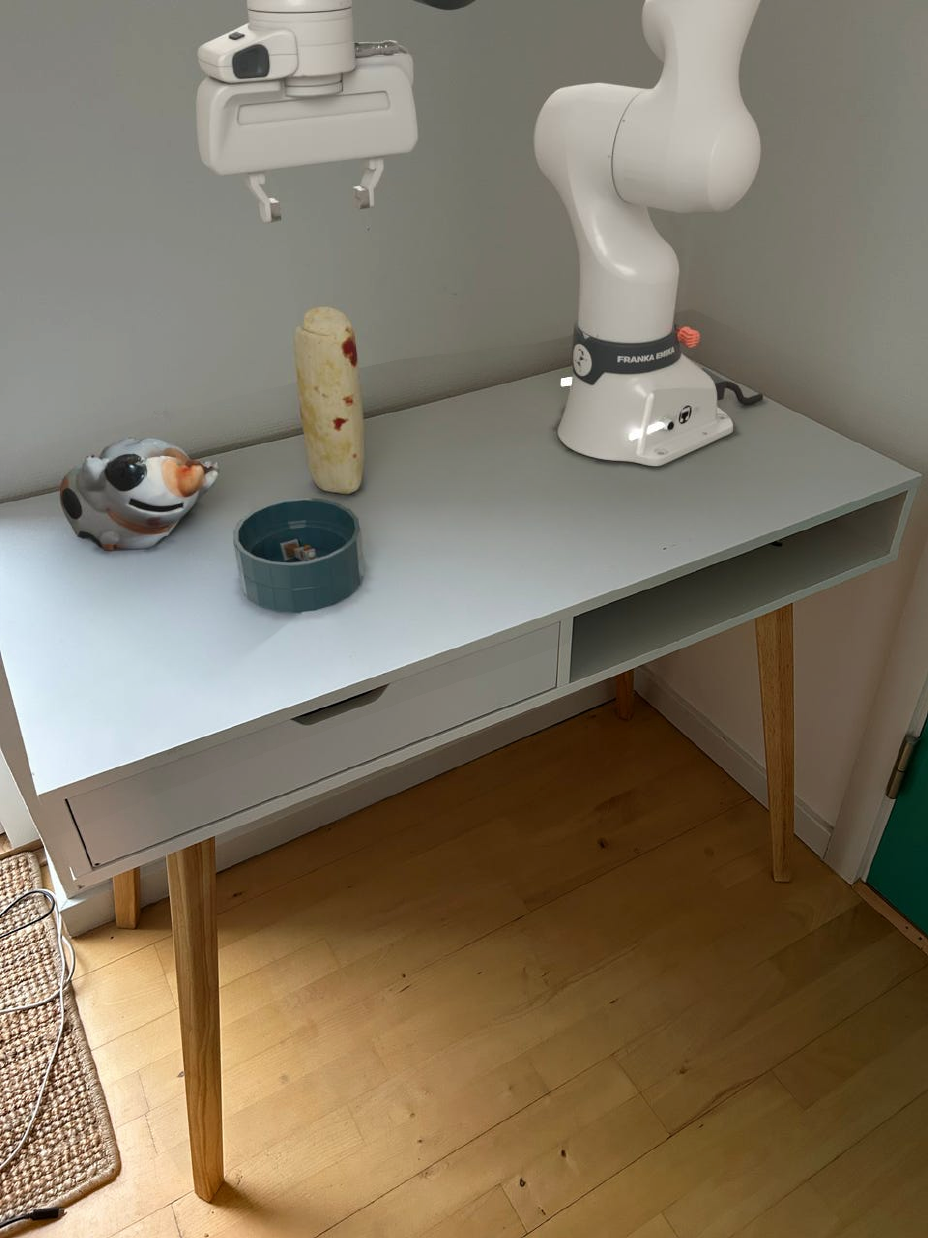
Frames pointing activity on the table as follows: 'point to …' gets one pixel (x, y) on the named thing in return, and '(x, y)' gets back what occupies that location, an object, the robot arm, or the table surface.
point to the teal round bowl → (295, 578)
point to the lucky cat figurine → (133, 492)
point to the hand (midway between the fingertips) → (318, 213)
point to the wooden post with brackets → (297, 551)
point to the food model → (330, 399)
